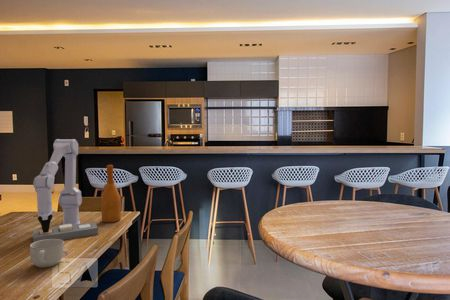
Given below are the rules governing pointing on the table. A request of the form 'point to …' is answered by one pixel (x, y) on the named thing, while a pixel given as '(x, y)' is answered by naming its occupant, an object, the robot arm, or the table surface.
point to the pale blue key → (84, 226)
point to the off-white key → (65, 227)
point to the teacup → (46, 252)
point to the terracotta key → (45, 232)
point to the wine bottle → (110, 199)
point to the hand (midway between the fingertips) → (45, 231)
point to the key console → (66, 232)
